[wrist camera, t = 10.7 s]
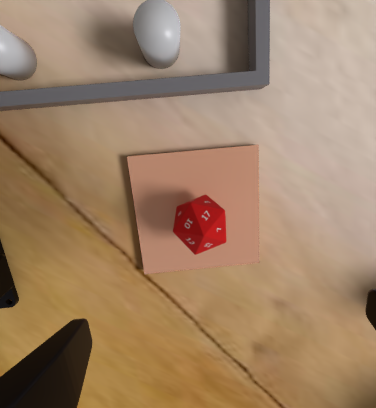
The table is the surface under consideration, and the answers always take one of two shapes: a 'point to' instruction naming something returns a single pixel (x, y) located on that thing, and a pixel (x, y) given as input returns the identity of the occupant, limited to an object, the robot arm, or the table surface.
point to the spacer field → (153, 53)
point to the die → (200, 224)
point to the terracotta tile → (191, 189)
